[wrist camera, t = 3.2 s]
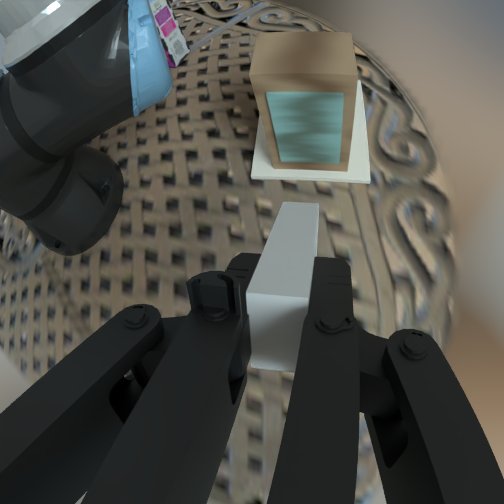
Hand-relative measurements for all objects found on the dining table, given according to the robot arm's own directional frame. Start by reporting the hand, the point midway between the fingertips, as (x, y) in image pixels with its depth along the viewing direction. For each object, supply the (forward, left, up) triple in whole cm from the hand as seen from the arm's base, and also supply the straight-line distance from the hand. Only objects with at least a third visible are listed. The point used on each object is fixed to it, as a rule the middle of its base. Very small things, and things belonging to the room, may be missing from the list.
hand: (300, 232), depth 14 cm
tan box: (-11, +12, -17) cm, 24 cm away
